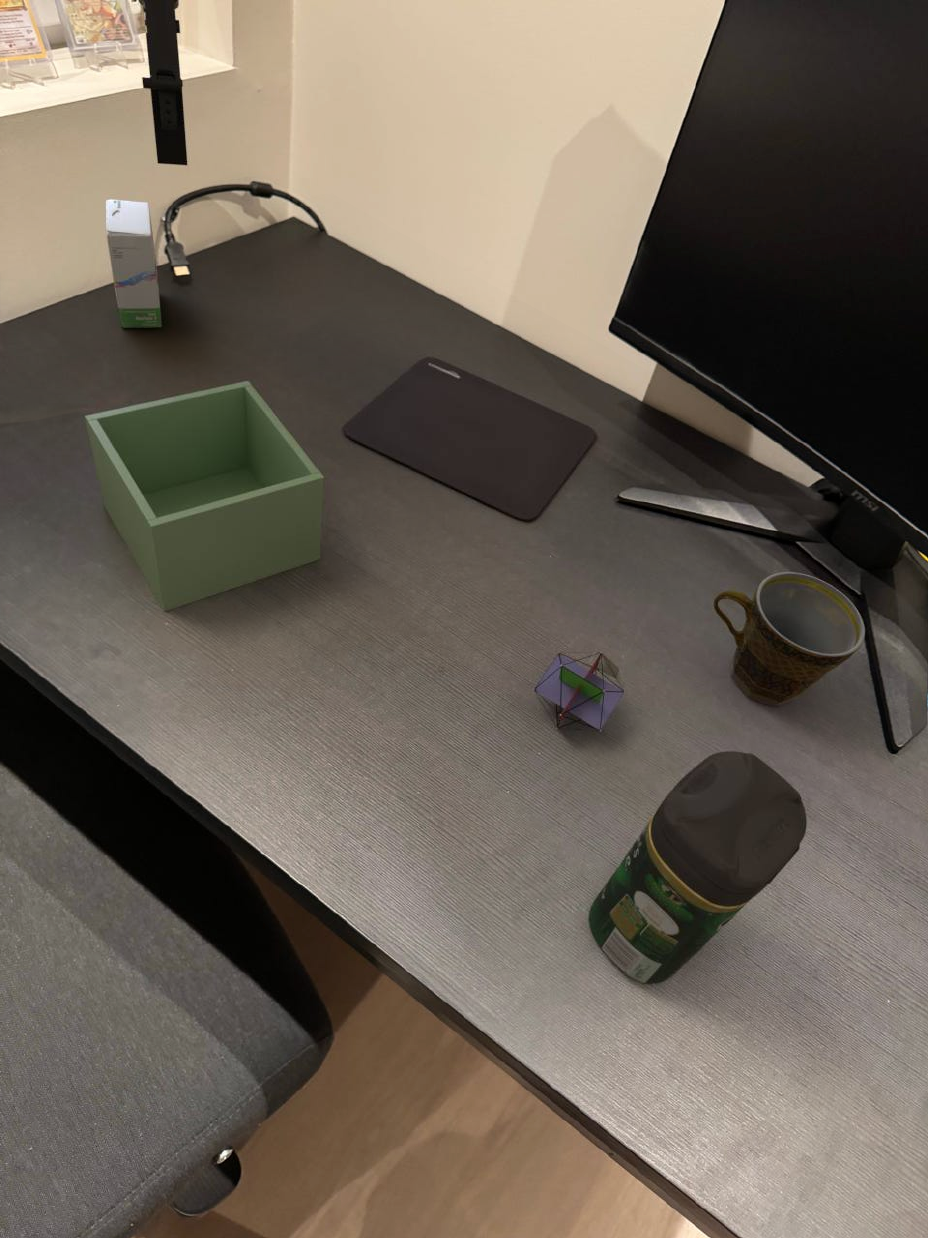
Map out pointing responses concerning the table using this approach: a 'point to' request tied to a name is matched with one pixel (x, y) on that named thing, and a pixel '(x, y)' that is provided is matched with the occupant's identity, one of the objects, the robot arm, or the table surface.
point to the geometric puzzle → (581, 689)
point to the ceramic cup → (791, 636)
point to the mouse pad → (473, 436)
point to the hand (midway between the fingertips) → (169, 133)
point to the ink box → (133, 263)
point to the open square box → (207, 491)
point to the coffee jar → (697, 864)
